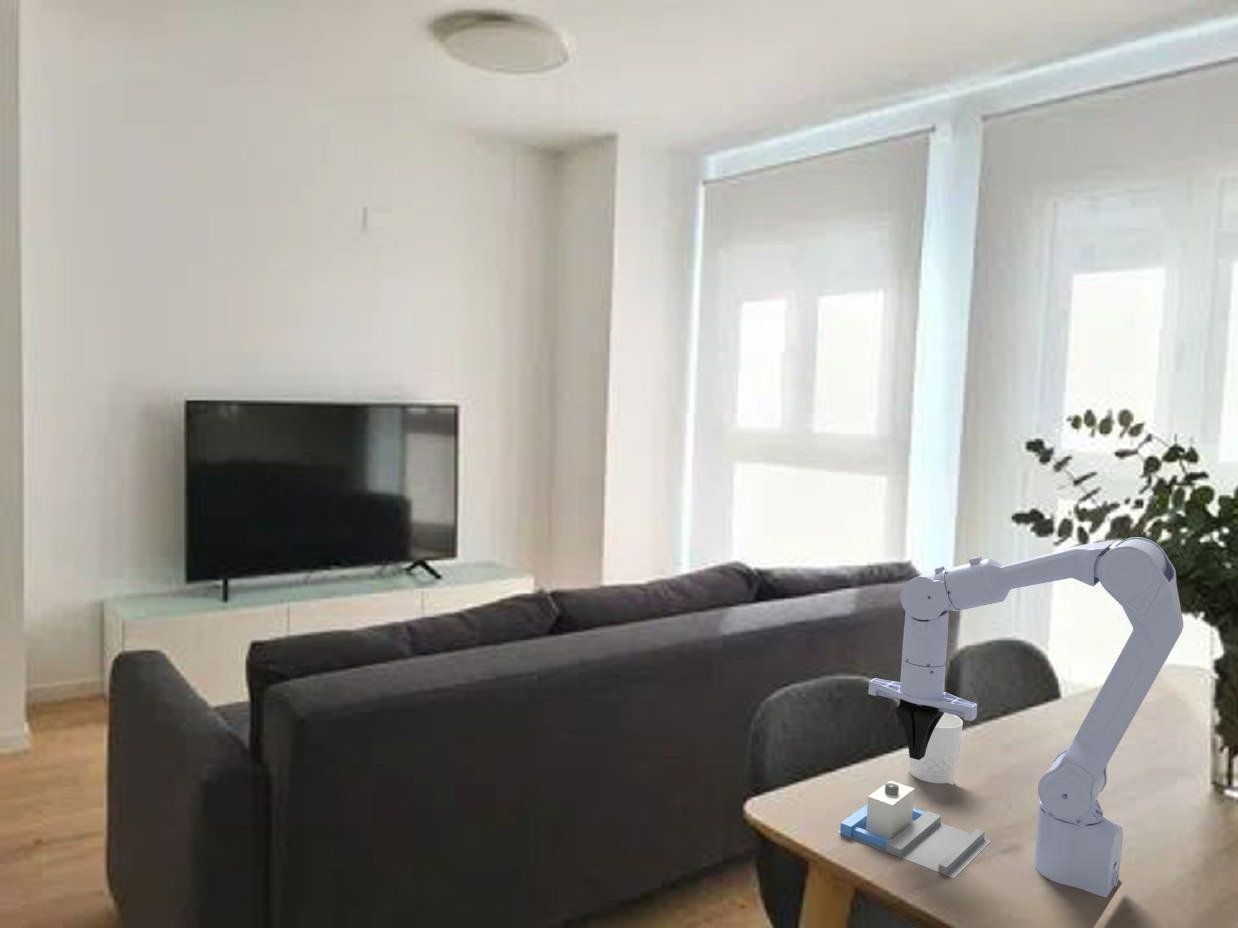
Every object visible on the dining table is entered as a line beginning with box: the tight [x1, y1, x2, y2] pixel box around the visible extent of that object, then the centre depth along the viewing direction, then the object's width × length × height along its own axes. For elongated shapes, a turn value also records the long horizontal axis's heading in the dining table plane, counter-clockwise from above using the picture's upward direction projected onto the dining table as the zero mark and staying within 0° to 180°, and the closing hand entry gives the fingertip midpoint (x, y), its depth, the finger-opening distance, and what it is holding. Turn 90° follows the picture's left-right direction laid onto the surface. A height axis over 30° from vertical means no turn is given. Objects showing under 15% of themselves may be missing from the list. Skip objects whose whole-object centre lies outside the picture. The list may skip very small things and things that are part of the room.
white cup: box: [908, 713, 964, 786], centre depth 144 cm, size 8×8×10 cm
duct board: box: [836, 803, 992, 879], centre depth 124 cm, size 16×13×2 cm
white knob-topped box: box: [866, 780, 915, 840], centre depth 126 cm, size 4×7×6 cm, turn 139°
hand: (917, 756), depth 128 cm, fingers closed
